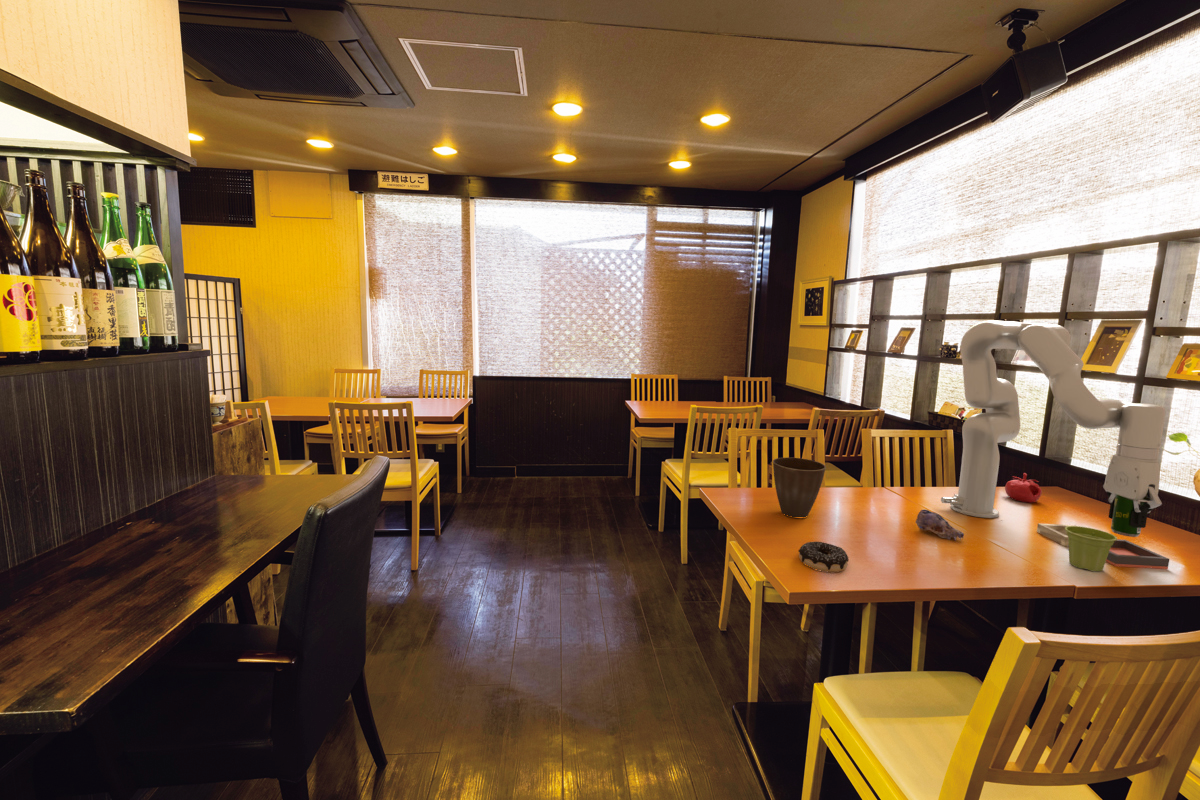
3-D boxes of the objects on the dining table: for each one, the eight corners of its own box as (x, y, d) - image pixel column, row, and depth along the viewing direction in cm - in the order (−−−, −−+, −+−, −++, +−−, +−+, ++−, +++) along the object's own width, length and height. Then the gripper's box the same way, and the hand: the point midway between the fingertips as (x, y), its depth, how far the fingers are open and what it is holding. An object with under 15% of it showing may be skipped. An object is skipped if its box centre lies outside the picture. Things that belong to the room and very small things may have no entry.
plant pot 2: (1050, 558, 135) (1054, 525, 134) (1084, 558, 136) (1089, 525, 135) (1086, 575, 126) (1091, 540, 125) (1122, 574, 127) (1128, 539, 126)
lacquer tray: (1115, 566, 132) (1116, 556, 131) (1076, 546, 143) (1077, 537, 143) (1167, 569, 131) (1169, 559, 130) (1124, 549, 143) (1125, 539, 142)
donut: (842, 557, 133) (843, 541, 133) (853, 578, 122) (854, 561, 121) (795, 551, 136) (796, 536, 135) (801, 572, 124) (803, 555, 124)
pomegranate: (1001, 499, 184) (1003, 473, 183) (1007, 494, 191) (1009, 468, 190) (1037, 506, 177) (1040, 479, 176) (1043, 500, 184) (1045, 474, 182)
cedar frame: (1064, 546, 144) (1065, 537, 143) (1036, 531, 154) (1037, 523, 153) (1104, 548, 143) (1106, 539, 142) (1074, 533, 153) (1075, 525, 153)
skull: (968, 541, 145) (971, 520, 144) (949, 545, 142) (952, 523, 141) (927, 526, 156) (929, 506, 155) (908, 529, 153) (910, 508, 152)
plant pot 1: (831, 517, 161) (836, 466, 158) (801, 527, 152) (805, 472, 150) (789, 503, 173) (793, 455, 171) (759, 511, 164) (762, 460, 162)
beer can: (1141, 534, 136) (1148, 488, 134) (1138, 539, 132) (1145, 491, 131) (1112, 528, 140) (1118, 483, 138) (1108, 532, 136) (1115, 486, 135)
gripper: (1092, 445, 142) (1083, 511, 144) (1153, 460, 125) (1141, 534, 128) (1122, 446, 142) (1112, 512, 144) (1187, 461, 125) (1175, 536, 127)
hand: (1126, 522), depth 136 cm, fingers closed on beer can, 5 cm apart
